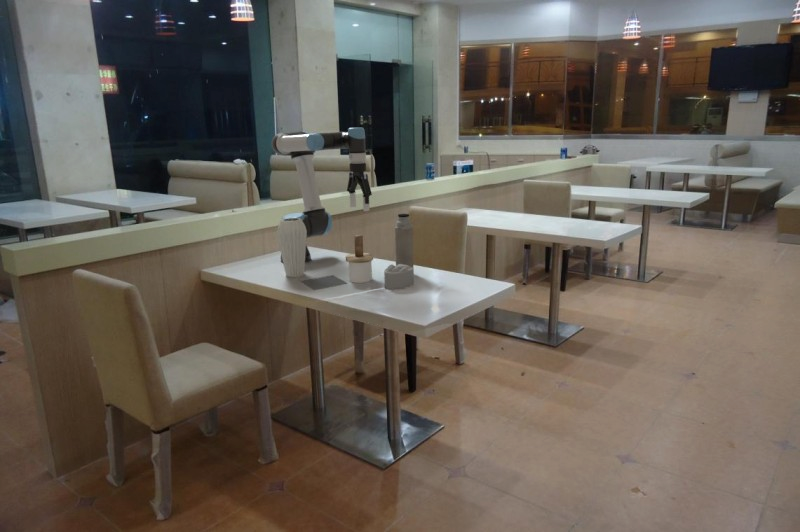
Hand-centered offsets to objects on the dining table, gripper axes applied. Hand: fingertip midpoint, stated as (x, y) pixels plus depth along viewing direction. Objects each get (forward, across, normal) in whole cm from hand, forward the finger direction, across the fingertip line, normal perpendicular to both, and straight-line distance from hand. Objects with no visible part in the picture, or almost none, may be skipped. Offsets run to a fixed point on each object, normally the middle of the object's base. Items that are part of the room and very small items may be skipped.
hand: (359, 209), depth 261 cm
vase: (+29, -7, -31) cm, 43 cm away
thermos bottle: (+29, +21, +11) cm, 37 cm away
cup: (+29, +18, -10) cm, 36 cm away
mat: (+29, +12, -25) cm, 40 cm away
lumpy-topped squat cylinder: (+29, +33, 0) cm, 44 cm away
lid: (+19, +18, -10) cm, 28 cm away
